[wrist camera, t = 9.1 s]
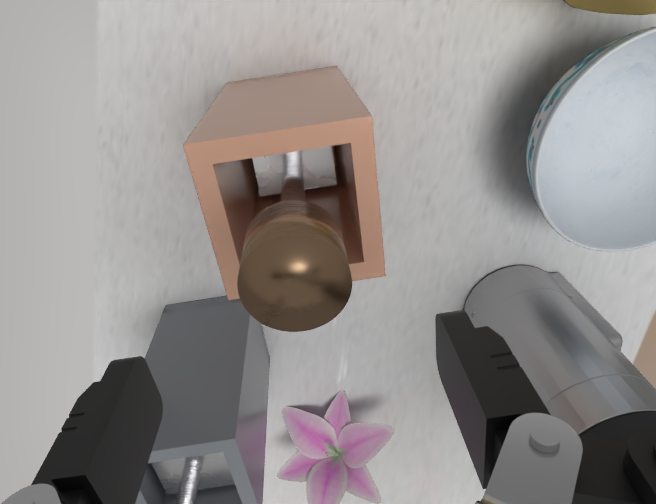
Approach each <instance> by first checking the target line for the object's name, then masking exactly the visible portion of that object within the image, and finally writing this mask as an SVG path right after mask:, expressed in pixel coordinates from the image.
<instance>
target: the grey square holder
mask: <svg viewBox="0 0 656 504" xmlns="http://www.w3.org/2000/svg"><path fill="white" fill-rule="evenodd" d="M145 360H146V362H147V365H148V367H149V369H150V372H151V374H152V376H153V379H154V381H155V383H156V386H157V388H158V390H159V393H160V395H161V398H162V404H163V415H162V420H161V423H160V426H159V430H158V433H157V436H156V439H155V442H154V445H153V449H152V452H151V455H150V458H149V461H148V465H147V468H146V471H145V474H144V477H143V480H142V484H141V487H140V490H139V493H138V496H137V500H136V503H135V504H176V500H177V495H178V493H175V494H168V495H167V493H166V491H165V489H164V487H163V485H162V483H161V481H160V479H159V477H158V475H157V473H156V471H155V469H154V467H153V465H152V463H154V462H160V461H167V460H173V459H180V458H186V457H193V456H199V455H206V454H212V453H219V452H223V454H224V456H225V459H226V462H227V464H228V467H229V470H230V472H231V475H232V478H233V480H234V483H235V484H233V485H227V486H220V487H214V488H207V489H201V490H198V492H197V498H196V503H195V504H262V502H263V482H264V463H265V444H266V424H267V405H268V386H269V366H270V356H269V352H268V349H267V345H266V341H265V337H264V333H263V329H262V325H261V323H260V322H259V321H257V320H256V319H255V318H253V317H252V316H251V315H250V314H249V313H248V312H247V310H246V309H245V308H244V306H243V304H242V302H241V300H240V298H239V299H233V300H228V297H227V296H223V297H217V298H210V299H204V300H197V301H191V302H184V303H178V304H172V305H166V307H165V309H164V312H163V314H162V317H161V319H160V322H159V324H158V327H157V329H156V332H155V334H154V337H153V339H152V342H151V344H150V347H149V349H148V352H147V354H146V357H145Z"/></svg>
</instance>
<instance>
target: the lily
mask: <svg viewBox="0 0 656 504" xmlns="http://www.w3.org/2000/svg"><path fill="white" fill-rule="evenodd" d="M282 413H283V418H284V421H285V424H286V427H287V430H288V432H289V435H290V437H291V439H292V441H293V443H294V445H295V446H296V448H297V449H298V452H296V453H295V454H294V455H293V456H292V457H291V458H290V459H289V460H288V461H287V462H286V463H285V464H284V465H283V466H282V468H281V469H280V470H279V472H278V473H277V477H278V478H279V479H283V480H288V481H298V482H307V489H306V490H307V499H308V504H339V503H340V501H341V499H342V497H343V495H344V493H345V490H346V491H347V492H349V493H351V494H353V495H355V496H357V497H360V498H362V499H365V500H368V501H371V502H375V503H380V502H381V497H380V494H379V492H378V489H377V487H376V485H375V483H374V480H373V478H372V476H371V474H370V472H369V471H368V469H367V467H366V465H365V464H366V463H368V462H369V461H370V460H371V459H372V458H373V457H374V456H375V455H376V454H377V453H378V452H379V451H380V450H381V449H382V448H383V447H384V445H385V444H386V443H387V442H388V441H389V440H390V438H391V437H392V435H393V434H394V430H395V429H394V428H393V427H392V426H388V425H383V424H373V423H352V424H351V417H350V411H349V406H348V402H347V398H346V395H345V392H344V391H340V392H339V393H338V394H337V396H336V397H335V399H334V400H333V401H332V403H331V405H330V406H329V408H328V410H327V412H326V414H325V416H324V419H323V418H321V417H319V416H317V415H315V414H312V413H309V412H306V411H303V410H300V409H297V408H293V407H285V408H283V411H282Z"/></svg>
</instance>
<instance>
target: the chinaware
mask: <svg viewBox="0 0 656 504" xmlns="http://www.w3.org/2000/svg"><path fill="white" fill-rule="evenodd" d="M526 166H527V175H528V180H529V184H530V188H531V191H532V194H533V196H534V199H535V201H536V203H537V205H538V207H539V209H540V211H541V212H542V214H543V216H544V217H545V219H546V220H547V222H548V223H549V224H550V225H551V227H552V228H553V229H554V230H555V231H556V232H557V233H559V234H560V235H561V236H562V237H564V238H565V239H567V240H568V241H570V242H572V243H574V244H576V245H578V246H581V247H584V248H587V249H592V250H597V251H626V250H632V249H637V248H641V247H645V246H648V245H652V244H654V243H656V27H652V28H648V29H644V30H641V31H638V32H634V33H632V34H629V35H626V36H624V37H621V38H619V39H616V40H614V41H612V42H610V43H608V44H606V45H604V46H602V47H601V48H599V49H597V50H595V51H594V52H592V53H591V54H589V55H588V56H586V57H585V58H583V59H582V60H581V61H579V62H578V63H577V64H576V65H574V66H573V67H572V68H571V69H570V70H569V71H568V72H566V73H565V74H564V75H563V76H562V77H561V79H560V80H559V81H558V82H557V83H556V84H555V85H554V87H553V88H552V89H551V90H550V92H549V93H548V95H547V96H546V98H545V99H544V101H543V102H542V104H541V106H540V108H539V110H538V112H537V114H536V116H535V118H534V121H533V124H532V127H531V130H530V133H529V138H528V143H527V152H526Z"/></svg>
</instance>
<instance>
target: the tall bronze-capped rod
mask: <svg viewBox="0 0 656 504" xmlns="http://www.w3.org/2000/svg"><path fill="white" fill-rule="evenodd" d="M152 465H153V467H154V469H155V471H156V473H157V475H158V477H159V479H160V481H161V483H162V485H163V487H164V489H165V491H166V493H167V495H168V494H175V493H178V495H177V500H176V504H195V503H196V498H197V492H198V490H201V489H207V488H214V487H220V486H227V485H233V484H235V483H234V480H233V478H232V475H231V472H230V470H229V467H228V464H227V462H226V459H225V456H224V454H223V452H219V453H212V454H206V455H199V456H193V457H186V458H180V459H173V460H167V461H160V462H154V463H152Z"/></svg>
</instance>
